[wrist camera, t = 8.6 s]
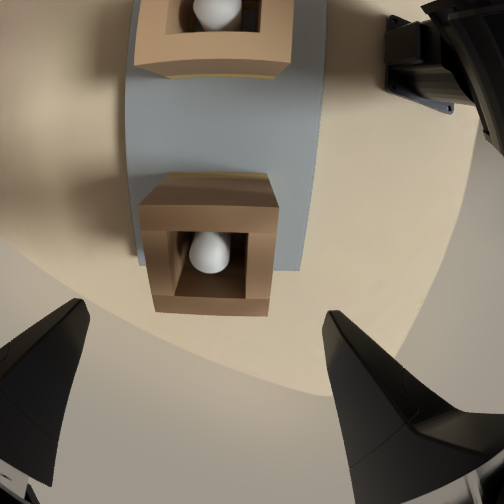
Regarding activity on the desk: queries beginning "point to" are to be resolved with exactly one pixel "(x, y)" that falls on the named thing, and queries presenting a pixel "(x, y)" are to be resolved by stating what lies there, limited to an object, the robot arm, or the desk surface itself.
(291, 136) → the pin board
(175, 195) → the sleeve
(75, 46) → the desk surface
